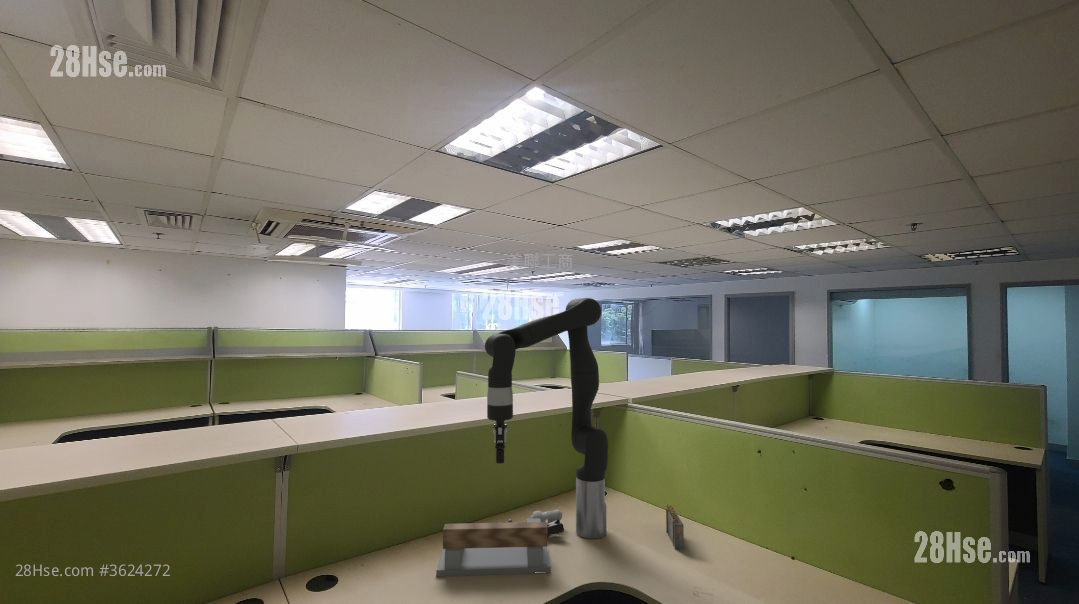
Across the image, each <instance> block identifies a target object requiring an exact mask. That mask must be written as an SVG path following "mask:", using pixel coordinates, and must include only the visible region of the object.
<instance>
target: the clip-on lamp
mask: <svg viewBox="0 0 1079 604" xmlns="http://www.w3.org/2000/svg"><path fill="white" fill-rule="evenodd" d="M534 518H540V521H541V522H547V527H548V537H550V536H552V535H555V534H559V533H563V532H564V531H565V527H564V524H563V523H562V522H561V520H562V519H563V512H562V510H560V509H558V508H557V509H553V510H548V511H541V510H534V511H533V512H532V514H531V516H530V517H529V519H534ZM512 522H513V520H512V519H511V518H509V519H508V522H507V523H512Z"/></svg>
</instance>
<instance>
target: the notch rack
mask: <svg viewBox="0 0 1079 604" xmlns="http://www.w3.org/2000/svg"><path fill="white" fill-rule="evenodd" d="M526 522H541V521H540V518H534V519H530V518H526ZM551 569H552V567H551V561H550V554H549V550H548V545H547V546H546V547H504V548H461V549H443V548H442V551H441V555H440V558H439V560H438V564H437V567H436V571H435V573H436V575H435V576H436V577H454V576H456V577H457V576H459V577H460V576H489V575H490V576H492V575H498V576H499V575H521V574H522V575H527V574H526V573H533V574H536V573H535V572H552V571H551Z"/></svg>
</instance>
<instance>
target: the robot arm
mask: <svg viewBox="0 0 1079 604" xmlns="http://www.w3.org/2000/svg"><path fill="white" fill-rule="evenodd" d="M601 316H602V308H601V304H600V303H599V302H598V301H597V300H596V299H593V298H592V297H590V298H589V297H583V298H582V297H579V298H575V299H571V300H570V301H568V303H567V304H566V308H565V310H564V311H561V312H558V313H555V314H551V315H548V316H543V317H540V318H537V319H533V320H531V321H527V322H525V323H523V324H520V325H518V326H516V327H513V328H510V329H507V330H504V331H503V330H502V331H500V332H497V333H494V334H492V335H490V336H489V337H488V338H487V339H486V340H485V343H484V349H485V352H486V353H487V355H489V356H490V357H492V364H491V365H492V366H491V367H490V368H489V369H488V374H487V395H486V396H487V397H486V401H487V402H486V403H487V404H486V405H487V406H486V409H487V410H486V416H487V420H489V421H495V424H493V426H492V427H493V429H492V430H493V431H492V432H493V442H494V443H495V446H494V448H495V452H496V454H495V460H496V461H495V463H496V464H504V463H505V448H506V445H505V443H506V442H507V433H508V424H507V423H505V421H510V420H511V419H513V417H514V392H513V374H512V373H513V368H514V363H515V358H516V350H519V349H525V348H529V347H532V346H534V345H536V344H538V343H540V342H544V341H545V340H548V339H550V338H553V337H555V336H557V335H560V334H563V333H565V332H567V335H568V343H569V344H568V346H569V347H568V348H569V360H570V361H569V363H570V368H569V369H570V381H571V382H570V383H571V384H570V385H571V403H572V404H571V406H572V407H571V408H572V409H571V410H572V412H571V413H572V417H571V433H570V434H571V437H570V438H571V445H572V446H573V449H574V450H575V452H577V453H579V454H582V455H584V463H583V464H581V465H579V466H577V467H576V469H575V470H576V473H575V533H576V534H577V535H578V536H580V537H582V538H585V539H594V540H595V539H599V538H603V537H607V532H608V531H607V526H608V525H607V524H608V523H607V518H608V517H607V503H606V499H605V498H606V483H605V482H606V481H605V480H606V479H605V478H606V471H607V468H608V455H609V438H608V435H607V434H606V432H605V431H604V430H603V429H601V428H598V427H595V426H592V412H591V410H592V406H593V402H594V401H595V399H596V396H597V393H598V391H599V388H600V387H599V386H600V375H599V374H600V373H599V372H600V371H599V363H598V361H597V358H596V356H595V354H594V352H593V349H592V347H591V344H590V342H589V336H588V335H589V334H588V327H589V326H593V325H595V324H596V323H597V322H599V320H600V318H601Z"/></svg>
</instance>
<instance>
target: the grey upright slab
mask: <svg viewBox="0 0 1079 604" xmlns="http://www.w3.org/2000/svg"><path fill="white" fill-rule="evenodd" d="M664 504H665V507H666V509H665V521H666V522H665V524H666V525H665V527H666V531H665V532H666V533H667V537H668V539H669V540H670V542H671V543H672V546H673V548H674V550H677V551H678V550H681V551H683V550H684V551H685V540H684V539H685V538H684V535H685V533H684V532H685V531H684V523H683V521H682V520H681V517H679V515H678V513H677V512H676V510H675V507H674V506H672V505H669V504H668V503H666V502H664Z"/></svg>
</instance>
